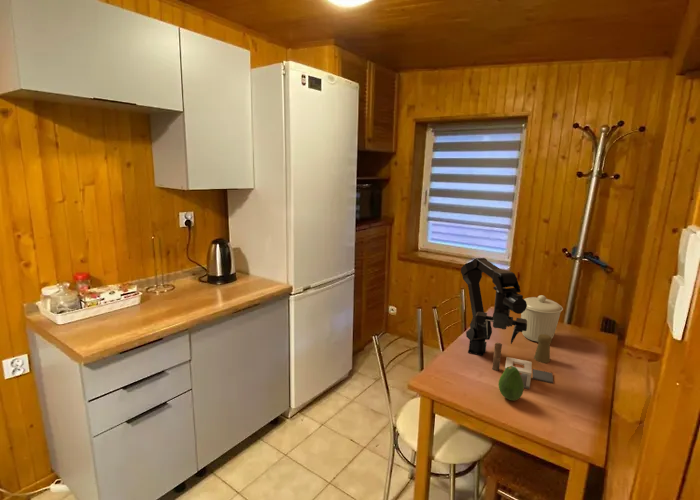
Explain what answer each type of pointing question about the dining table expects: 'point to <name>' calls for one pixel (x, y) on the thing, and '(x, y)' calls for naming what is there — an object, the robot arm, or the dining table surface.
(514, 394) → the fruit
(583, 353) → the dining table surface
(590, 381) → the dining table surface
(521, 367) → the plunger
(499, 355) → the cylinder
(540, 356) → the cork
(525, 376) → the guard
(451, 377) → the dining table surface
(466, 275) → the robot arm
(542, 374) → the pad
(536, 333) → the canister
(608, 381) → the dining table surface
